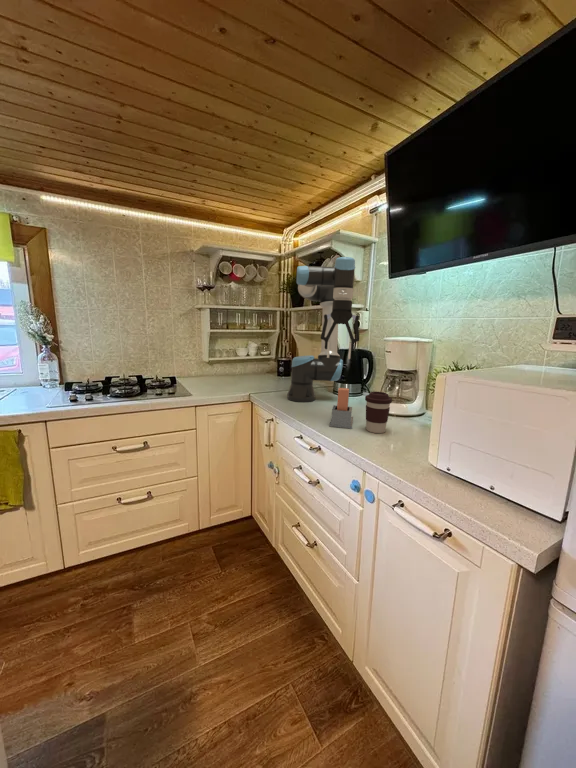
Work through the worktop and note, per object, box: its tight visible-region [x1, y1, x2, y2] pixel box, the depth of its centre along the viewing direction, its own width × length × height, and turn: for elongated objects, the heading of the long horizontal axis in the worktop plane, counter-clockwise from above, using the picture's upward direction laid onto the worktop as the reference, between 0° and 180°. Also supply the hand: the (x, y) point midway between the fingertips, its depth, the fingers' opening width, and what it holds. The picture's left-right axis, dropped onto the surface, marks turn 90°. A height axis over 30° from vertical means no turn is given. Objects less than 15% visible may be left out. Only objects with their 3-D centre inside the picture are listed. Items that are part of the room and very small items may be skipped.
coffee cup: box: [364, 391, 393, 434], centre depth 124 cm, size 10×10×15 cm
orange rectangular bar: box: [336, 387, 350, 411], centre depth 129 cm, size 4×4×14 cm
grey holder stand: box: [328, 394, 354, 430], centre depth 133 cm, size 16×9×13 cm, turn 167°
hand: (338, 357), depth 129 cm, fingers open, 8 cm apart
